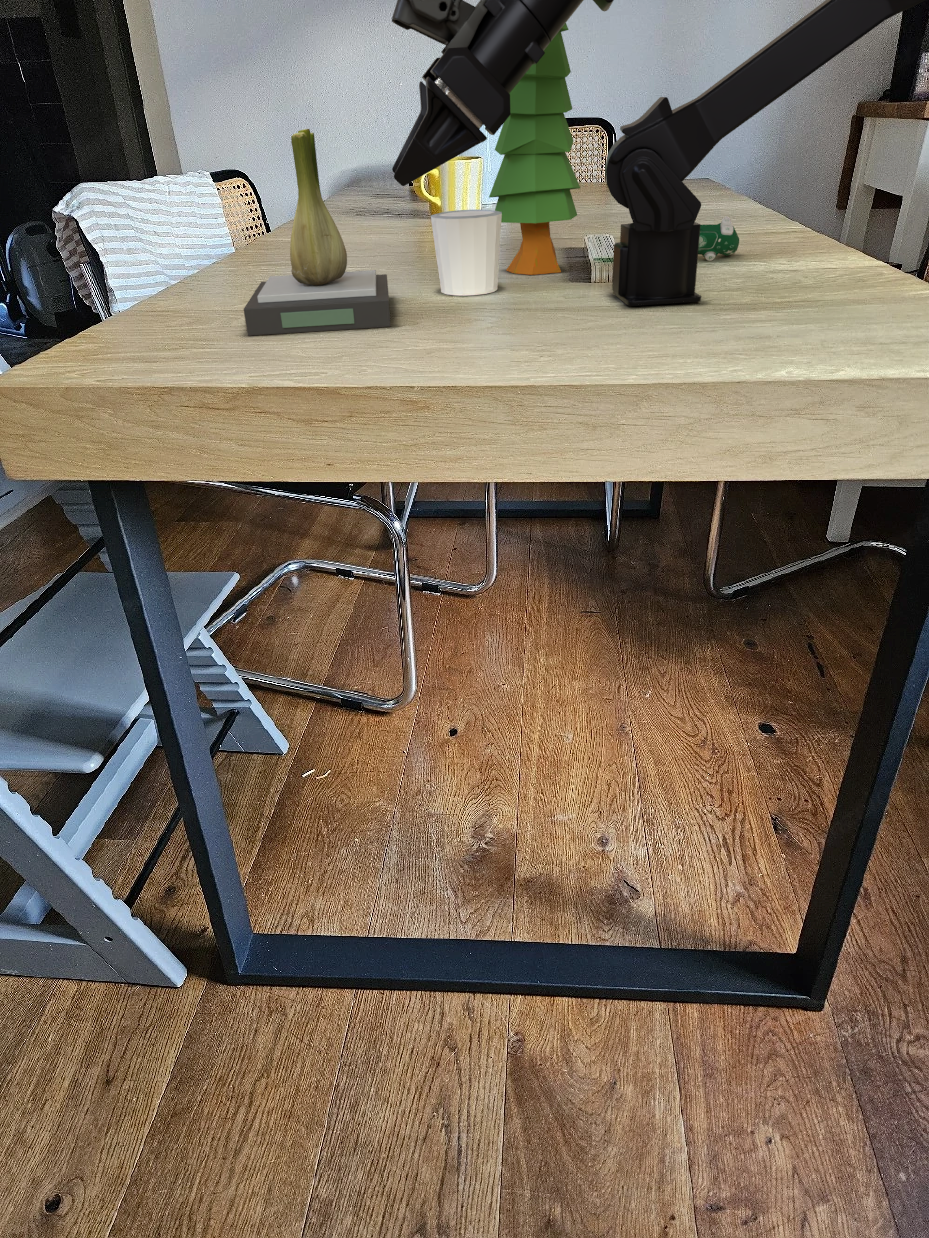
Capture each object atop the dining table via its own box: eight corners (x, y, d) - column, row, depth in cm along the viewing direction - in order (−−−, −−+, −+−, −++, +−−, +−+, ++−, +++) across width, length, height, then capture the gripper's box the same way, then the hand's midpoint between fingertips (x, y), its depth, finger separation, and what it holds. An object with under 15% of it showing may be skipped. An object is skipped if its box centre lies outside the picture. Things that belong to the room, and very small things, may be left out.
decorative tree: (512, 280, 92) (506, -87, 76) (476, 268, 99) (464, -68, 84) (594, 270, 95) (604, -85, 79) (553, 259, 102) (555, -67, 87)
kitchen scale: (388, 298, 86) (386, 267, 85) (390, 327, 75) (387, 292, 73) (264, 305, 85) (260, 275, 84) (247, 336, 74) (241, 301, 73)
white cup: (497, 296, 84) (495, 216, 81) (427, 297, 86) (422, 218, 82) (509, 283, 90) (507, 207, 86) (443, 284, 91) (439, 209, 88)
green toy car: (651, 276, 100) (654, 241, 94) (652, 246, 101) (656, 210, 95) (736, 274, 98) (744, 239, 93) (736, 245, 99) (745, 208, 94)
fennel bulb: (317, 276, 82) (299, 128, 76) (363, 278, 80) (348, 126, 74) (280, 288, 77) (257, 131, 71) (327, 290, 75) (308, 129, 69)
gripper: (440, -54, 75) (326, 104, 80) (457, -98, 59) (313, 103, 64) (533, 52, 79) (419, 195, 84) (573, 38, 63) (429, 216, 68)
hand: (396, 178), depth 75 cm, fingers open, 9 cm apart
